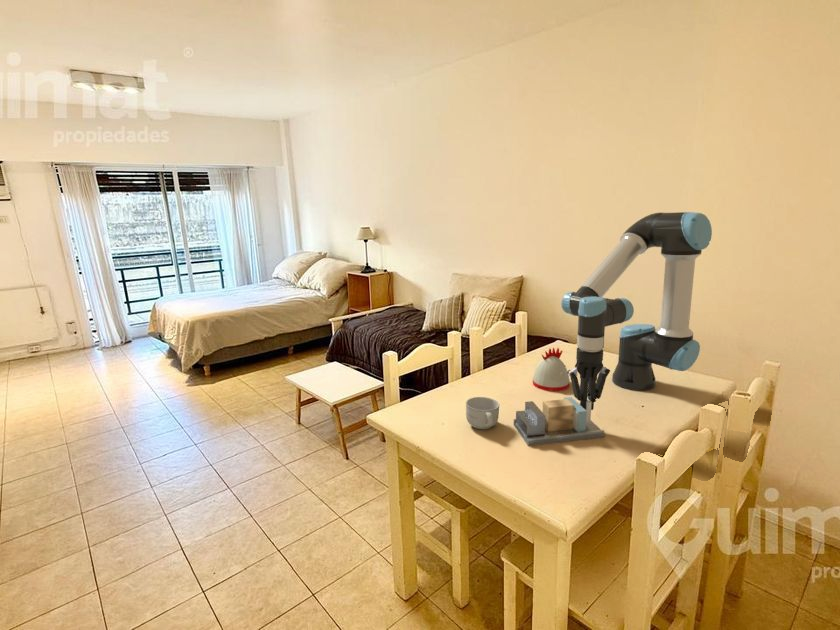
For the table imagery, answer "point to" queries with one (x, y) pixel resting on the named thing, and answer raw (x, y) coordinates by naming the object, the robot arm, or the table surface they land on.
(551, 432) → the vise bed
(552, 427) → the oak block
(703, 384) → the table surface
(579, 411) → the block
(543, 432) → the fixed jaw
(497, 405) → the teacup
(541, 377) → the white and red dome
